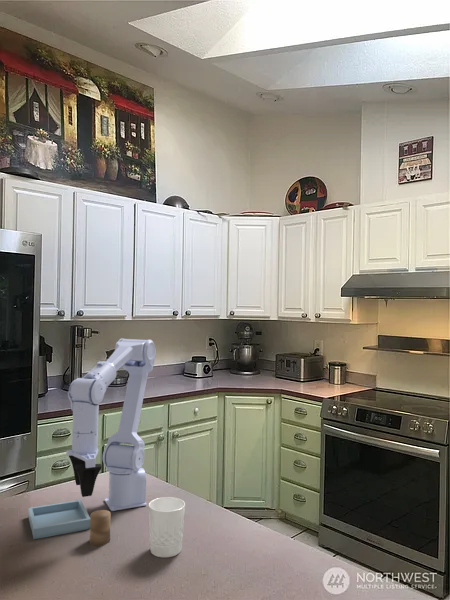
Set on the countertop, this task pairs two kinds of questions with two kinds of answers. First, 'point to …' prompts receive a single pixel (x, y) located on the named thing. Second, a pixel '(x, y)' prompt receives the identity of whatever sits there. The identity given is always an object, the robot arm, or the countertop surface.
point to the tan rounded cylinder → (100, 527)
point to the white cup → (166, 526)
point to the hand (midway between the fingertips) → (83, 489)
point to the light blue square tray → (58, 519)
